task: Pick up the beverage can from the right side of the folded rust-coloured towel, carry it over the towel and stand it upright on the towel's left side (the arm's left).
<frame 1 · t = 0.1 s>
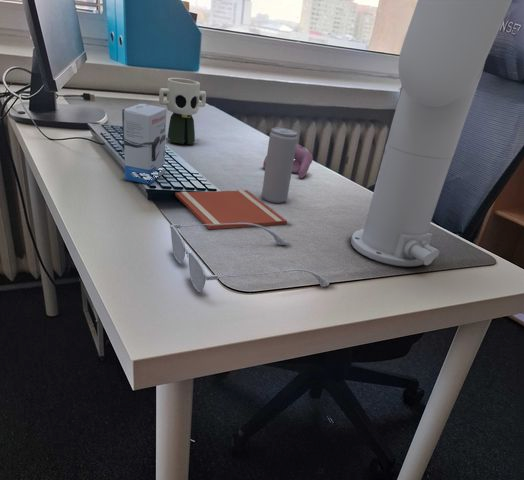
towel: (229, 209, 87), on the table
ink cartridge: (131, 153, 107), on the table
eyeglasses: (247, 269, 69), on the table
beverage can: (274, 200, 95), on the table
character mug: (181, 143, 119), on the table
ink box: (145, 177, 95), on the table
video game controller: (286, 172, 111), on the table
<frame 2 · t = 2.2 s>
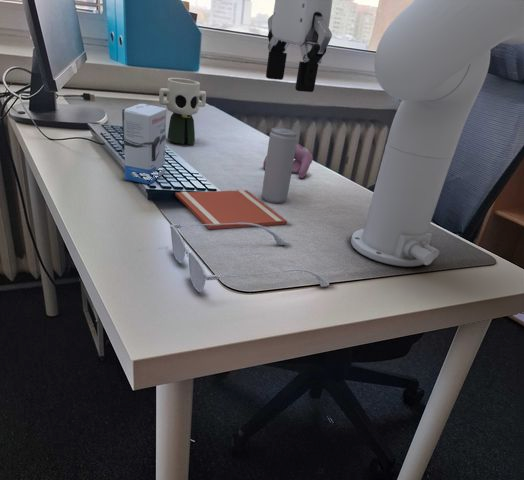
hand: (288, 84, 84), 19 cm above the table, tool pointing down, fingers open, 9 cm apart
nothing on the table moved.
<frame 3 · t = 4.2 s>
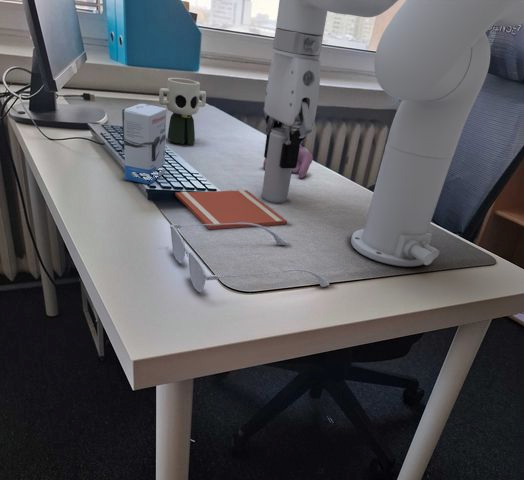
hand: (279, 161, 91), 7 cm above the table, tool pointing down, fingers closed on beverage can, 4 cm apart
beverage can: (274, 200, 95), on the table, touching gripper
everything else where it was.
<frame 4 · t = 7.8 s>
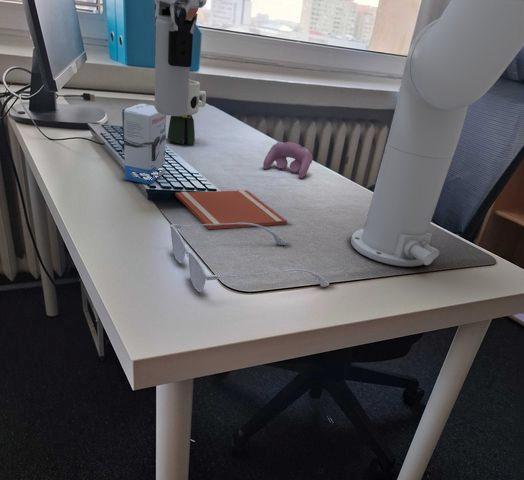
hand: (172, 61, 72), 21 cm above the table, tool pointing down, fingers closed on beverage can, 4 cm apart
beverage can: (171, 114, 76), point 14 cm above the table, touching gripper
everything else where it was.
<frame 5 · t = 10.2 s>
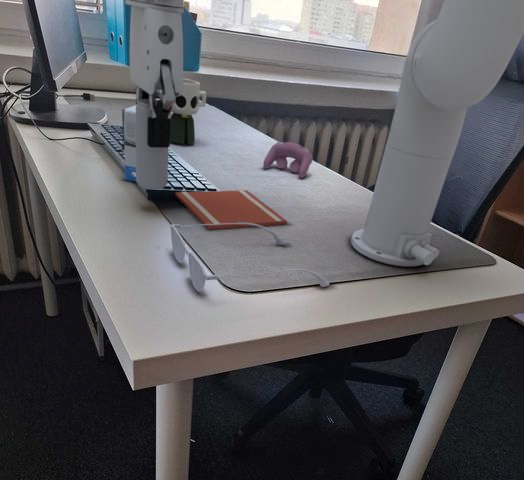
hand: (152, 140, 76), 11 cm above the table, tool pointing down, fingers closed on beverage can, 4 cm apart
beverage can: (151, 186, 80), point 4 cm above the table, touching gripper
everything else where it was.
when the fingers open (7 cm above the table, at t = 11.6 s): beverage can stays where it is, on the table.
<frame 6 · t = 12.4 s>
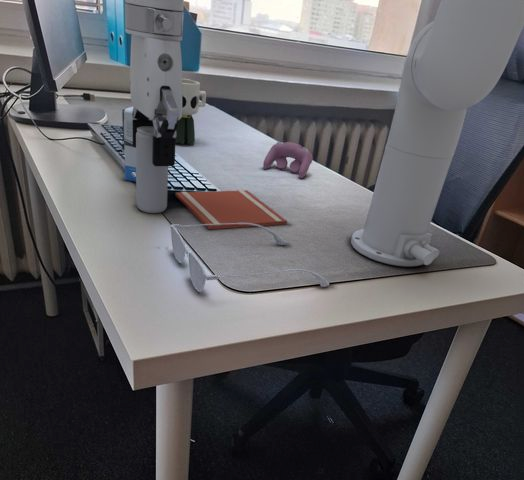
hand: (152, 155, 78), 8 cm above the table, tool pointing down, fingers open, 9 cm apart
beverage can: (151, 209, 83), on the table
everything else where it was.
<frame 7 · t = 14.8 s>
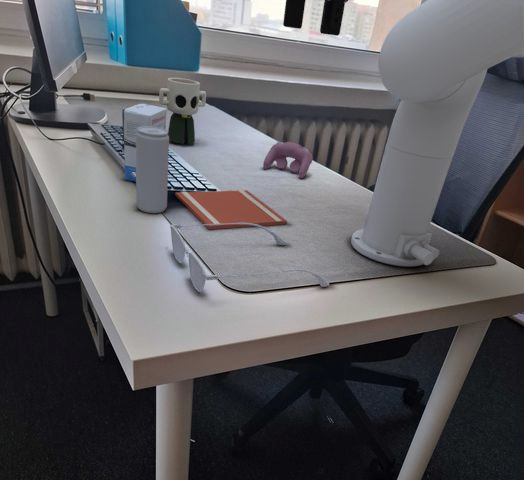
hand: (310, 30, 76), 27 cm above the table, tool pointing down, fingers open, 9 cm apart
nothing on the table moved.
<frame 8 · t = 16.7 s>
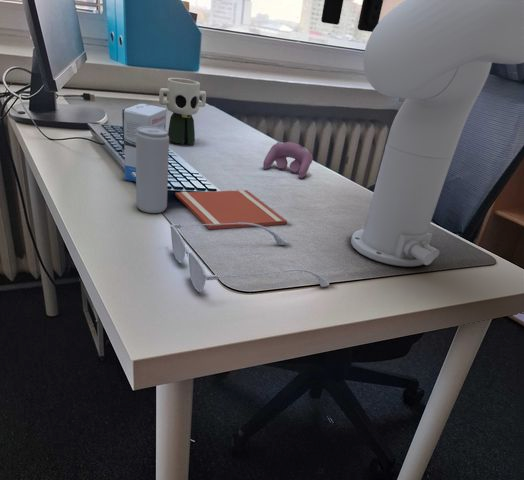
hand: (347, 27, 79), 28 cm above the table, tool pointing down, fingers open, 9 cm apart
nothing on the table moved.
at the end: beverage can inside the target area (0.2 cm from its centre), on the table; beverage can tilted 0°; beverage can touching table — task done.
